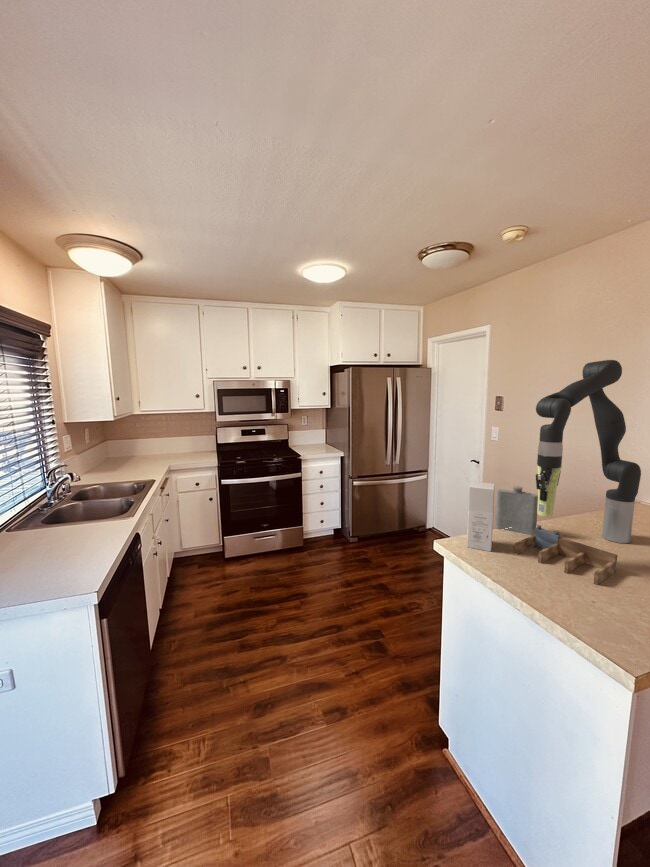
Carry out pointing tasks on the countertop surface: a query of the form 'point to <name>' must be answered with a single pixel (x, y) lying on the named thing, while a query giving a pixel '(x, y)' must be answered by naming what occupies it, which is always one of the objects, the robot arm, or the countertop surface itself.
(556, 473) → the tube
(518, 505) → the hip flask
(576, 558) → the wooden slatted rack
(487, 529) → the tall white carton
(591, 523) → the countertop surface
